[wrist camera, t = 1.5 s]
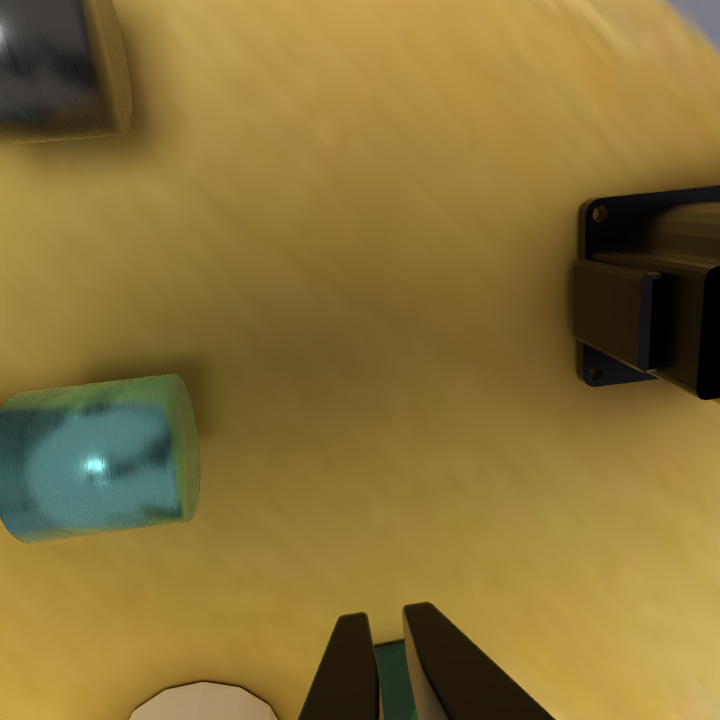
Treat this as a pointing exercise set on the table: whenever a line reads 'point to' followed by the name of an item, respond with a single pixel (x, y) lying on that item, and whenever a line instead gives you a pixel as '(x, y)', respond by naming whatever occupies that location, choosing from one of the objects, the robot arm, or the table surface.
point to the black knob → (62, 71)
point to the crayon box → (395, 683)
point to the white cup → (204, 704)
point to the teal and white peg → (98, 458)
